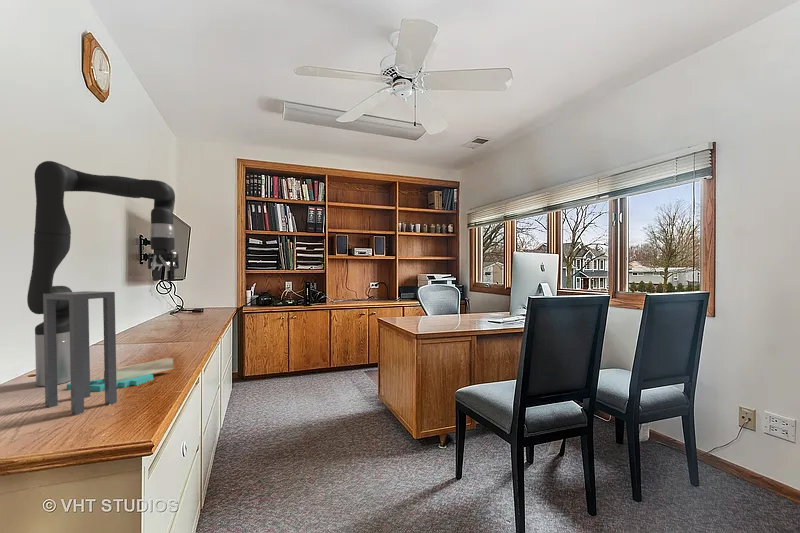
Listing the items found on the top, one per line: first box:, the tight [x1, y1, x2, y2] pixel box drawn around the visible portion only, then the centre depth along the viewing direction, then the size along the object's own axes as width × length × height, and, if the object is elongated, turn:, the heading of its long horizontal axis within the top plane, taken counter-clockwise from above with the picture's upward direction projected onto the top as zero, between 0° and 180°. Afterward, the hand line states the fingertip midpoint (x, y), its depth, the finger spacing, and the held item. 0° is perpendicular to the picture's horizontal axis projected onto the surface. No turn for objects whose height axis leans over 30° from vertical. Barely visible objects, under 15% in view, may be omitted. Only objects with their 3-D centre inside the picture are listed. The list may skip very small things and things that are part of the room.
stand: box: [42, 290, 118, 416], centre depth 109 cm, size 16×10×32 cm, turn 64°
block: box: [103, 357, 174, 382], centre depth 133 cm, size 4×20×4 cm, turn 146°
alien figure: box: [66, 373, 154, 392], centre depth 131 cm, size 20×2×20 cm
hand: (163, 280), depth 140 cm, fingers open, 8 cm apart
